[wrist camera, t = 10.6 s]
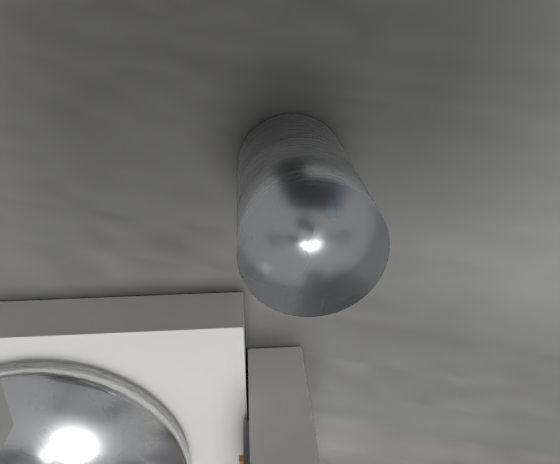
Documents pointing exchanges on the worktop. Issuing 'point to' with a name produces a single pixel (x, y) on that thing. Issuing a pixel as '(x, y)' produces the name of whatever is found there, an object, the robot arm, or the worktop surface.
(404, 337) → the worktop surface
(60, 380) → the pan
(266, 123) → the cylinder
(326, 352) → the worktop surface
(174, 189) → the worktop surface
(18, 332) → the scale
